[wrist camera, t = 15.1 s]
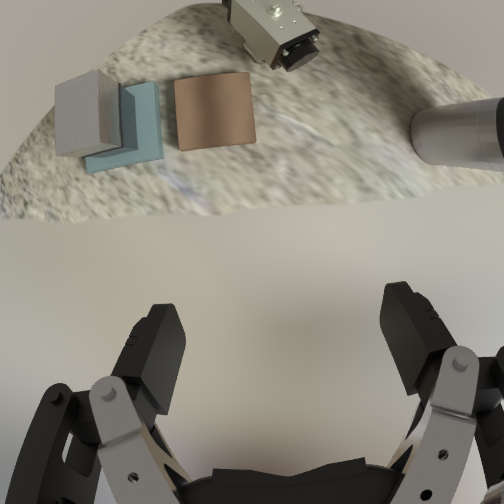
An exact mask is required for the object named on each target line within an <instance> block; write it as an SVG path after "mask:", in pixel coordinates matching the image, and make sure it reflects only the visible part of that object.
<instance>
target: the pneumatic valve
mask: <svg viewBox="0 0 504 504" xmlns="http://www.w3.org/2000/svg"><path fill="white" fill-rule="evenodd" d="M294 2H296V0H222V4H223V5H224V6H225V7H226V8H227V9H228V14H227V16H228V17H227V21H228V22H229V23H230V24H231V25H232V26H233V27H234V28H235V29H236V30H237V31H238V32H239V33H240V34H241V35H242V36H243V38H244V39H245V41H246V42H244V43H243V45H244V49H245V50H246V51H247V52H248V53H249V54H250V55H251V56H252V57H253V58H254V60H255V61H256V62H257V63H258V64H259V63H260V64H263V63H264V61H265V62H266V63H267V64H268V65H269V66H270V67H271V68H272V70H274V69H276V68H277V69H279V68H280V67H281V66H283V68H284V69H285V70H286V71H287V72H291V71H293V70H295V69H297V68H299V67H301V66H303V65H304V64H306V63H307V62H309V61H310V60H312V59H313V58H314V57H316V56H317V55H318V54H319V52H320V51H319V50H318V49H317V47H316V46H315V45H314V43H315V42H316V41H317V40H318V37H317V36H318V35H319V33H320V32H319V31H318V30H317V28H316V27H315V26H314V25H313V24H312V23H311V22H310V21H309V20H308V19H307V18H306V17H305V16H304V15H303V14H302V13H301V12H300V11H303V10H304V7H303V6H302V5H298V6H294V5H293V4H292V3H294Z"/></svg>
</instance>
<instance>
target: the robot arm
mask: <svg viewBox="0 0 504 504" xmlns="http://www.w3.org/2000/svg"><path fill="white" fill-rule="evenodd" d="M410 131H411V140H412V143H413V146H414V149H415V151H416V152H417V154H418V155H419V157H420V158H421V159H422V160H423V161H425V162H426V163H428V164H431V165H442V166H452V167H464V168H473V169H482V170H490V171H498V172H504V97H502V98H492V99H485V100H477V101H470V102H463V103H457V104H451V105H445V106H439V107H434V108H428V109H424V110H421V111H418V112H417V113H416V114H415V116H414V117H413V119H412V122H411V128H410ZM380 327H381V330H382V333H383V335H384V337H385V340H386V342H387V344H388V347H389V349H390V351H391V354H392V356H393V359H394V361H395V364H396V366H397V369H398V371H399V374H400V376H401V379H402V381H403V384H404V387H405V390H406V392H407V395H408V396H409V395H413V394H416V393H418V394H419V397H420V399H419V401H418V404H417V406H416V409H415V412H414V414H413V416H412V419H411V421H410V424H409V426H408V429H407V431H406V433H405V435H404V438H403V440H402V442H401V444H400V446H399V448H398V449H397V451H396V452H395V454H394V456H393V457H392V459H391V461H390V462H389V464H388V466H387V467H384V466H379V465H372V464H366V462H365V458H364V457H363V458H359V459H353V460H348V461H343V462H337V463H331V464H327V465H324V466H321V467H319V468H316V469H313V470H310V471H307V472H304V473H301V474H298V475H295V476H289V477H287V476H279V475H273V474H268V473H263V472H258V471H253V470H234V469H233V470H232V469H213V474H212V476H208V477H204V478H200V479H197V480H195V481H192V479H191V478H190V476H189V475H188V474H187V472H186V471H185V470H184V469H183V468H182V466H181V465H180V464H179V463H178V461H177V460H176V458H175V456H174V455H173V453H172V451H171V450H170V448H169V446H168V444H167V443H166V441H165V439H164V437H163V435H162V434H161V432H160V430H159V428H158V426H157V424H156V423H155V418H156V415H157V414H160V415H167V414H168V410H169V406H170V403H171V398H172V395H173V391H174V387H175V383H176V380H177V376H178V372H179V368H180V365H181V361H182V357H183V353H184V350H185V345H186V337H185V332H184V330H183V327H182V324H181V322H180V319H179V316H178V314H177V311H176V309H175V306H174V305H173V304H171V303H170V304H154V305H153V306H152V307H151V310H150V311H149V314H148V316H147V317H143V318H142V319H141V320H140V321H139V322H137V323H136V325H135V326H134V327H133V329H132V331H131V333H130V335H129V338H128V339H127V341H126V343H125V346H124V347H123V350H122V352H121V354H120V356H119V358H118V360H117V363H116V365H115V367H114V369H113V371H112V374H111V375H110V376H107V377H104V378H101V379H99V380H98V381H97V382H96V383H95V384H94V385H93V386H92V388H91V390H87V391H80V392H72V391H71V389H70V388H69V387H68V386H67V385H66V384H63V383H57V384H54V385H52V386H51V387H49V388H48V389H47V390H46V392H45V393H44V395H43V397H42V399H41V401H40V404H39V406H38V408H37V411H36V413H35V415H34V418H33V420H32V422H31V425H30V427H29V429H28V432H27V435H26V437H25V440H24V443H23V445H22V448H21V451H20V453H19V456H18V459H17V462H16V465H15V469H14V472H13V475H12V478H11V482H10V486H9V489H8V493H7V497H6V502H5V504H94V499H95V494H96V490H97V485H98V480H99V476H100V471H101V467H102V468H103V470H104V473H105V476H106V478H107V481H108V483H109V486H110V488H111V491H112V493H113V495H114V498H115V500H116V502H117V504H450V503H451V501H452V499H453V497H454V494H455V492H456V489H457V487H458V484H459V482H460V479H461V476H462V473H463V470H464V468H465V464H466V461H467V458H468V455H469V452H470V448H471V444H472V441H473V437H474V436H475V440H476V443H477V446H478V450H479V454H480V458H481V461H482V465H483V469H484V474H485V479H486V484H487V488H488V491H487V493H486V494H485V497H484V500H483V501H482V502H481V503H480V504H504V411H503V408H502V406H501V403H500V402H501V401H502V400H503V399H504V346H503V347H501V348H500V349H499V351H498V353H497V354H496V356H495V357H477V356H476V354H475V353H474V352H473V351H472V350H471V349H469V348H467V347H464V346H458V345H457V344H456V342H455V340H454V339H453V337H452V336H451V334H450V332H449V331H448V329H447V328H446V326H445V324H444V323H443V321H442V320H441V318H439V315H438V314H437V312H436V311H434V308H433V306H432V305H431V303H430V302H429V300H428V299H427V298H425V297H424V296H423V295H421V294H420V293H418V292H416V293H414V292H413V291H412V289H411V288H410V286H409V285H408V284H407V282H406V281H401V282H395V283H388V284H386V286H385V289H384V295H383V301H382V306H381V311H380ZM69 433H71V434H72V435H73V438H72V441H71V444H70V447H69V450H68V454H67V457H66V461H65V463H64V462H63V459H62V452H63V449H64V446H65V443H66V440H67V437H68V434H69Z"/></svg>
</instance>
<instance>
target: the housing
mask: <svg viewBox="0 0 504 504" xmlns="http://www.w3.org/2000/svg"><path fill="white" fill-rule="evenodd" d="M55 148H56V156H68V157H82V158H85V157H94V158H105V157H110V156H114V155H118V154H122V153H127V152H131V151H136V150H138V141H137V127H136V110H135V96H134V95H132V94H131V93H130V92H128V91H127V90H126V89H124V88H123V87H122V86H121V84H120V83H119V84H118V83H117V82H115V81H114V80H113V79H111V78H110V77H109V76H107V75H106V74H105V73H103V72H102V71H101V70H99V69H98V70H95V71H92V72H89V73H87V74H84V75H81V76H79V77H76V78H73V79H71V80H68V81H66V82H64V83H61V84H59V85H57V86H55Z"/></svg>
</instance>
